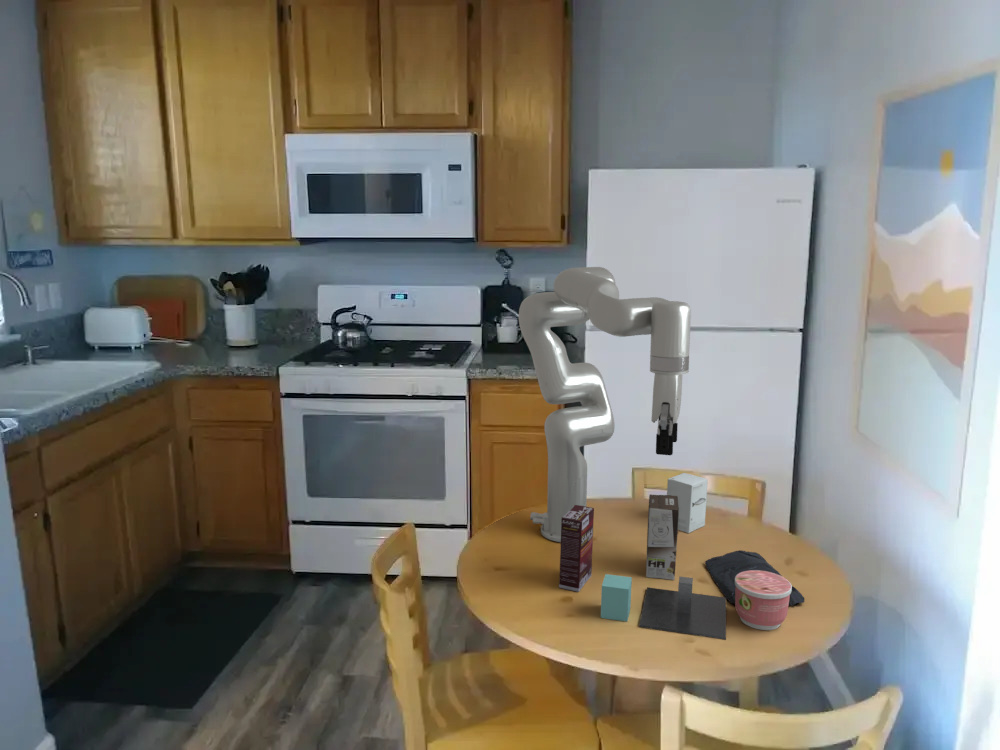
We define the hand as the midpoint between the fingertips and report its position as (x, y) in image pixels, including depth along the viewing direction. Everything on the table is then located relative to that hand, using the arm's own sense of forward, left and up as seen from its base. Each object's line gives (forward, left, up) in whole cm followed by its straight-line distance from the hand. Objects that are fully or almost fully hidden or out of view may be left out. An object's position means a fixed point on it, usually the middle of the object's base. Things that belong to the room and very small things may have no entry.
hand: (666, 447), depth 159 cm
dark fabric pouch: (+19, +8, -31) cm, 38 cm away
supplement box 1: (-18, -1, -32) cm, 36 cm away
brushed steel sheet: (+5, -8, -31) cm, 33 cm away
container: (+20, -7, -32) cm, 38 cm away
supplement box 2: (+3, +37, -32) cm, 49 cm away
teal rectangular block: (-8, -12, -31) cm, 34 cm away
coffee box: (-1, +10, -32) cm, 33 cm away
